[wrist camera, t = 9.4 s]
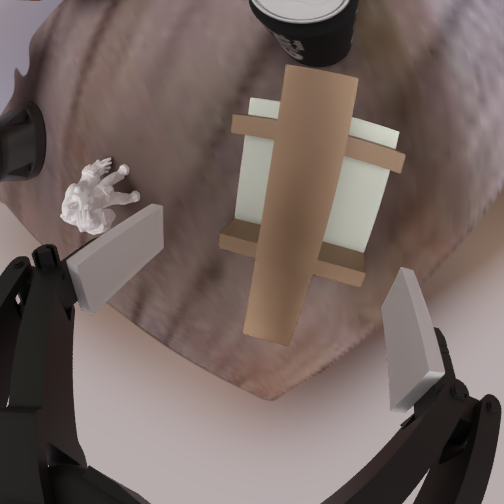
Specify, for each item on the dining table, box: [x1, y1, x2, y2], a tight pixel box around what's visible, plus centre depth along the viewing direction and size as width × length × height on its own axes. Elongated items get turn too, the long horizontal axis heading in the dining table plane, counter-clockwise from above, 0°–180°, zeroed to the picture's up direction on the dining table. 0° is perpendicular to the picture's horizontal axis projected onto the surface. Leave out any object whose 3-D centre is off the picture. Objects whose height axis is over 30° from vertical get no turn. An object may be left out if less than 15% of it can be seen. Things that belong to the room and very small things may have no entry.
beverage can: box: [249, 0, 358, 66], centre depth 14 cm, size 7×7×12 cm
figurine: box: [60, 158, 140, 235], centre depth 27 cm, size 10×5×12 cm, turn 64°
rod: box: [243, 64, 359, 347], centre depth 19 cm, size 4×20×6 cm, turn 172°
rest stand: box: [218, 98, 405, 287], centre depth 24 cm, size 14×16×5 cm
